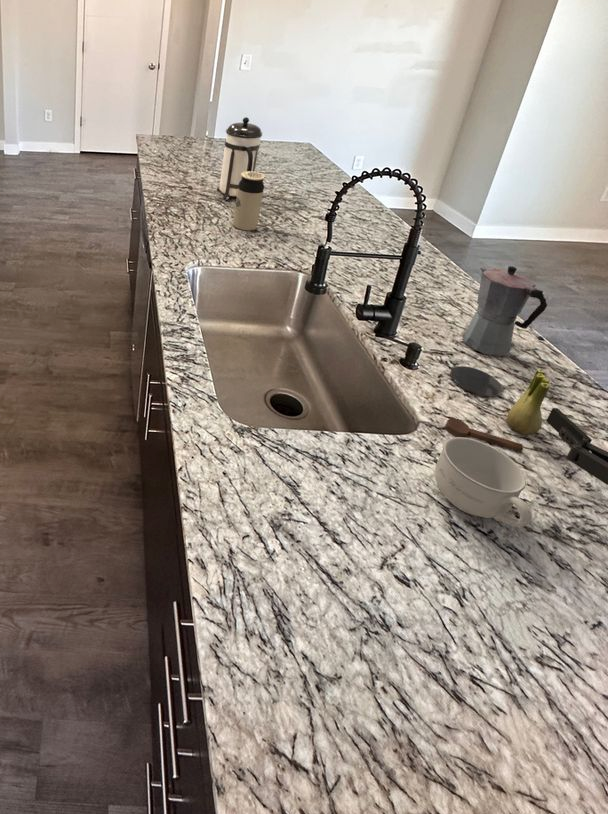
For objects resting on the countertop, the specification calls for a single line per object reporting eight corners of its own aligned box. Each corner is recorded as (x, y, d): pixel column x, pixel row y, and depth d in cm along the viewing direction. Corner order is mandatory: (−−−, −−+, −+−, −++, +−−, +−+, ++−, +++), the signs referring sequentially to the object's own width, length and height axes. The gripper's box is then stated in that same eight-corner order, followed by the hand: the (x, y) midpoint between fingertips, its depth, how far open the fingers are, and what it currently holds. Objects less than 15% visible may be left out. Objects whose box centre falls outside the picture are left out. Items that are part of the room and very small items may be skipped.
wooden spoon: (518, 443, 96) (521, 438, 96) (522, 457, 93) (525, 452, 93) (444, 420, 101) (446, 415, 100) (446, 433, 98) (448, 428, 97)
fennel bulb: (512, 414, 103) (536, 364, 98) (542, 430, 99) (568, 379, 94) (498, 425, 100) (522, 375, 95) (528, 443, 96) (555, 391, 91)
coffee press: (205, 194, 205) (215, 116, 192) (229, 185, 215) (240, 110, 202) (244, 208, 193) (257, 126, 180) (267, 198, 203) (282, 119, 190)
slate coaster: (497, 376, 113) (498, 374, 113) (504, 403, 105) (505, 401, 105) (448, 363, 116) (449, 361, 116) (452, 388, 109) (452, 386, 109)
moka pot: (471, 324, 130) (500, 251, 122) (535, 363, 117) (573, 285, 109) (441, 330, 127) (469, 256, 119) (504, 371, 114) (540, 291, 106)
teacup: (415, 468, 90) (430, 433, 87) (480, 471, 90) (497, 436, 87) (464, 547, 78) (483, 509, 74) (539, 551, 78) (562, 513, 74)
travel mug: (255, 222, 182) (264, 172, 175) (257, 232, 175) (267, 180, 167) (231, 220, 183) (239, 170, 176) (233, 229, 176) (241, 177, 169)
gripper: (625, 559, 68) (507, 431, 87) (818, 562, 68) (658, 434, 87) (654, 518, 64) (525, 395, 84) (856, 522, 65) (682, 399, 84)
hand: (593, 415), depth 85 cm, fingers open, 13 cm apart
